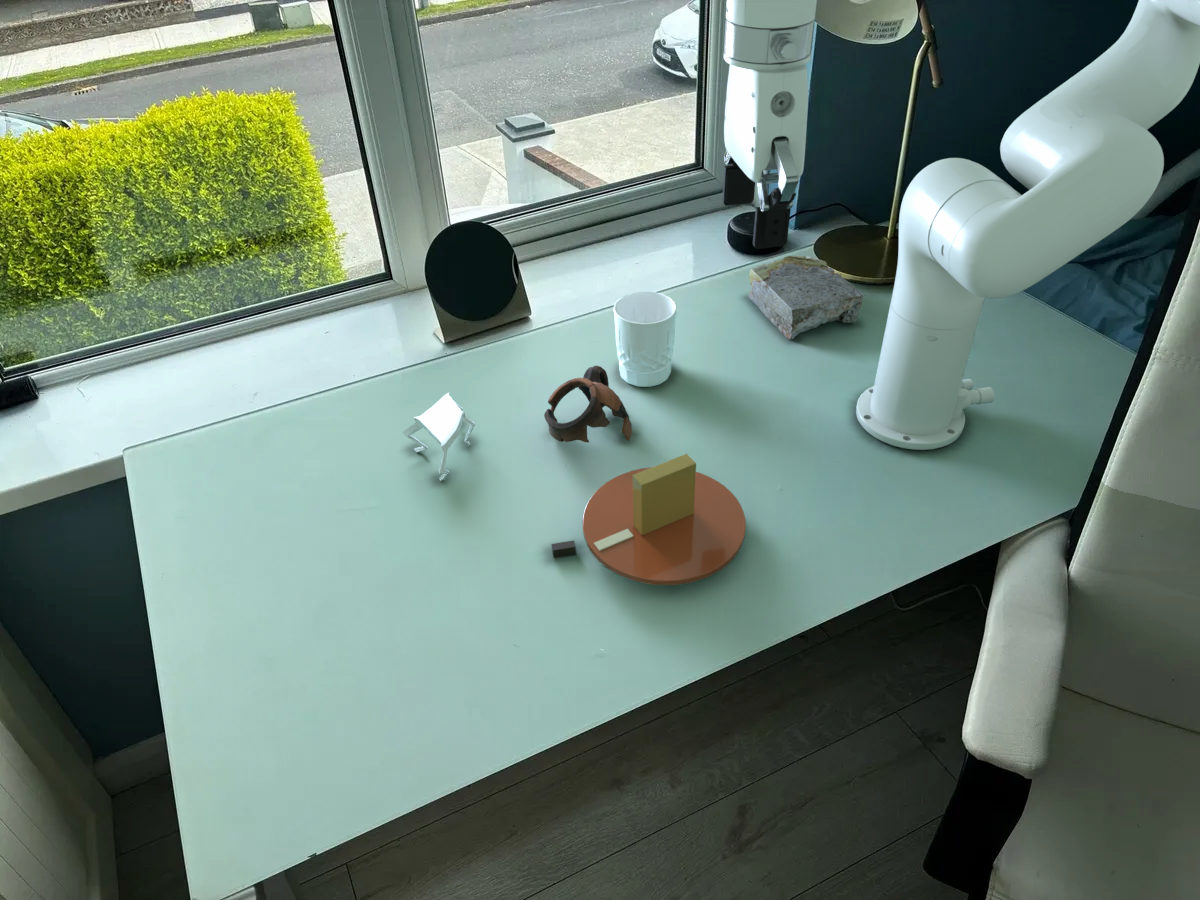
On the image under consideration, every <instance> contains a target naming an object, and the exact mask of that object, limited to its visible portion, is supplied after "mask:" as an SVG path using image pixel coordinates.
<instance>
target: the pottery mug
mask: <svg viewBox="0 0 1200 900" xmlns="http://www.w3.org/2000/svg"><path fill="white" fill-rule="evenodd" d="M577 388H578V390H580V391H581V392H582V393H583V394H584V396H585V397H586V399H587V400H588V402H589V403H588V404H587V407H586V408H585V409H584V410H583V412H581V414H580V415H579V416H578V417H576V418H575V419H573V420H571V421H568V422H563V423H562V422H558V419H557V418H556V416H555V411H556V408H557V406H558V405H559V404H560V402H561V400H562V399H563V398H564V397H565V396H566V395H568V394H569V393H570V392H572V391H574V390H575V389H577ZM547 403H548V404H549V405H550V406H551V407H550V408H547V409H546V411H545V412H544V415H543V416H544V419H545V421H546V423H547V425H548V432H549V434H550V435H551V437H552V438H553V439H555V441H556V440H557V441H558V442H560V443H562V442H563V443H564V442H565V443H571V442H574V441H575V442H576V441H580V442H582V443H587V444H588V443H590V441H589V439H588V427H590V428H606V427H608V426H609V425H610V424H611V421H610V420H609V418H608V417H607V415H606V412H605V410H604V409H603V408H604V407H607V408H608V409H610V410H611V414H612V416H613V417H614V418H615V417H616V418H620V419H622V420H623V422H622V427H621V429H620V431H621V433H622V434H623V435H624V438H625V440H626V441H627V442H629V441H631V438H632V436H633V435H632V433H633V427H632V423H631V420H630V415H629V413H628V411H627V409H626V406H625V405H624V403H623V401H622V400H621V398H620V397H619V395H618V394H617V393H616V392H615V391H614V389H612V388H610V385H609V377H608V374H607V371H606V370H605V369H604V368H603V367H602V366H600V365H593V366H589V367H588V368H587V369H586V370H585V372H584V373H583V377H576V378H571V379H569V380H567V381H565V382H563V383H562V384H560V385H559V386H558V387H557V388H556V389H554V391H553V392H552V394H551V395H550V396H549V398H548V401H547Z"/></svg>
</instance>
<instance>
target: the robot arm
mask: <svg viewBox="0 0 1200 900" xmlns="http://www.w3.org/2000/svg"><path fill="white" fill-rule="evenodd" d="M725 3H726V5H725V23H724V40H723V42H724V43H723V60H724V61H725V63H727V64H729V66H728V75H727V83H726V85H727V86H726V94H725V103H724V118H723V119H724V122H723V140H724V141H723V142H724V147H725V152H724V154H723V161H724V164H725V165H724V168H723V182H722V183H723V184H722V199H721V200H722V203H723V205H725V206H727V207H728V206H736V205H744V204H751V203H753V202H754V200H755V190H756V189H757V195H758V201H759V206H757V207H755V211H754V212H755V213H754V225H753V235H752V236H753V237H752V245H753V247H754V248H755V249H756V250H761V249H762V250H763V249H768V248H777V247H778V248H779V247H784V246H786V245H787V243H788V237H789V230H790V229H789V228H790V218H791V211H792V208H793V206H794V200H795V198H796V196H797V192H796V189H797V188H798V184H799V182H800V178H801V177H802V175H803V173H804V168H805V155H806V143H807V130H808V110H809V86H808V85H809V84H808V83H809V82H808V81H809V80H808V67H807V65H806V64H808V63H810V61H811V56H812V48H813V39H814V31H815V21H816V11H817V3H818V0H726V1H725ZM1199 67H1200V0H1138V2H1137V5H1136V7H1135V10H1134V12H1133V14H1132V17H1131V19H1130V21H1129V23H1128V25H1127V26H1126V28H1125V30H1124V32H1123V33H1122V34H1121V35H1120V37H1119V38H1118V39H1117V40H1116V42H1114V43H1113V44H1112V45H1111V46H1110V47H1108V48H1107V50H1106V51H1104V52H1103V53H1102V54H1100V55H1099V56H1098V57H1097V58H1096V59H1094V60H1093V61H1091V63H1089V64H1088V65H1087V66H1085V67H1084V68H1083V69H1080V71H1078V72H1077V73H1076V74H1074V75H1073V76H1071V77H1070V78H1069V79H1067V80H1066V81H1065V82H1063V83H1062V84H1060V85H1059V86H1057V87H1056V88H1055V89H1054V90H1052V91H1050V92H1049V93H1048V94H1046V95H1045V96H1044V97H1042V98H1041V99H1040V100H1038V101H1037V102H1036V103H1034V104H1033V105H1032V106H1030V107H1029V108H1028V109H1026V110H1025V111H1024V112H1022V113H1021V114H1020V115H1019V116H1018V117H1016V119H1014V120H1013V122H1012V123H1011V124H1010V125H1009V126H1008V128H1007V129H1006V131H1005V132H1004V134H1003V137H1002V139H1001V142H1000V146H999V151H1000V153H999V154H1000V159H1001V162H1002V163H1003V166H1004V167H1005V169H1006V171H1008V173H1009V175H1011V176H1012V177H1013V178H1014V179H1015V180H1016V181H1018V182H1019V183H1020V184H1021V185H1022V186H1023V187H1025V188H1026V189H1028V190H1027V191H1026V192H1025V193H1023V194H1021V193H1020V192H1018V191H1017V190H1016V189H1014V187H1012V186H1011V185H1010V184H1008V183H1007V182H1006V181H1005V180H1003V179H1002V178H1001V177H1000V176H998V175H997V174H995V173H994V172H992V171H991V170H990V169H988V168H987V167H985V166H984V165H982V164H981V163H978V162H976V161H972V160H970V159H966V158H962V157H948V158H943V159H939V160H936V161H934V162H932V163H930V164H928V165H927V166H925V167H924V168H922V169H921V170H920V171H919V172H918V173H917V174H916V175H915V176H914V177H913V179H912V180H911V182H910V183H909V184H908V186H907V187H906V189H905V192H904V194H903V197H902V201H901V204H900V209H899V217H898V249H897V250H898V251H897V252H898V254H897V255H898V256H897V265H896V272H895V279H894V284H893V289H892V294H891V300H890V304H889V309H888V313H887V319H886V324H885V329H884V334H883V339H882V344H881V348H880V353H879V358H878V364H877V368H876V374H875V378H874V379H875V380H874V383H873V385H872V386H870V387H869V388H866V389H865V390H864V391H863V392H862V393H861V394H860V396H859V397H858V399H857V403H856V408H855V415H856V419H857V421H858V423H859V424H860V426H861V427H862V428H863V429H864V430H865V431H866V432H867V433H868V434H869V435H870V436H872V437H874V438H875V439H877V440H879V441H881V442H883V443H886V444H887V445H890V446H893V447H898V448H900V449H907V450H912V451H913V450H915V451H926V450H936V449H939V448H943V447H946V446H948V445H950V444H952V443H954V442H955V441H956V440H958V438H959V437H960V436H961V435H962V433H963V431H964V428H965V423H966V414H965V412H964V410H967V409H969V408H970V407H971V406H972V405H985V404H991V403H993V402H994V401H995V398H996V397H995V396H996V395H995V391H994V389H993V388H992V387H991V386H986V387H978V388H975V389H974V381H973V379H971V378H965V379H964V376H965V371H966V368H967V365H968V361H969V357H970V354H971V350H972V346H973V342H974V339H975V336H976V331H977V328H978V325H979V321H980V317H981V314H982V312H983V308H984V303H985V299H987V300H998V299H1004V298H1009V297H1012V296H1014V295H1016V294H1018V293H1021V292H1023V291H1025V290H1027V289H1029V288H1030V287H1033V286H1034V285H1036V284H1037V283H1039V282H1040V281H1042V280H1043V279H1045V278H1046V277H1048V276H1050V275H1051V274H1052V273H1054V272H1056V271H1058V270H1059V269H1060V268H1062V267H1063V266H1064V265H1066V264H1068V263H1069V262H1071V261H1072V260H1074V259H1075V258H1077V257H1078V256H1080V255H1081V254H1082V253H1084V252H1085V251H1087V250H1088V249H1090V248H1091V247H1093V246H1094V245H1096V244H1098V243H1099V242H1100V241H1102V240H1103V239H1105V238H1106V237H1108V236H1109V235H1111V234H1113V233H1114V232H1115V231H1117V230H1118V229H1120V228H1121V227H1122V226H1124V225H1125V224H1126V223H1128V222H1129V221H1130V220H1131V219H1133V217H1135V216H1136V215H1137V213H1139V212H1140V211H1141V210H1142V209H1143V207H1144V206H1145V205H1146V204H1147V202H1148V201H1149V200H1150V198H1151V197H1152V196H1153V194H1154V193H1155V191H1156V189H1157V188H1158V186H1159V183H1160V182H1161V179H1162V177H1163V176H1162V175H1163V171H1164V166H1165V157H1164V152H1163V148H1162V146H1161V144H1160V143H1159V141H1158V140H1157V138H1156V137H1155V136H1154V135H1153V134H1152V133H1151V132H1150V131H1149V129H1150V128H1151V127H1153V126H1154V125H1155V124H1156V123H1158V122H1159V121H1160V120H1162V119H1163V118H1164V117H1166V116H1167V115H1168V114H1170V112H1172V111H1173V110H1174V109H1175V108H1176V107H1177V106H1178V105H1179V104H1180V103H1181V102H1182V101H1183V99H1184V98H1185V97H1186V96H1187V94H1188V92H1189V91H1190V89H1191V87H1192V86H1193V83H1194V80H1195V78H1196V76H1197V73H1198V70H1199ZM773 170H776V172H772V173H764V172H765V171H773ZM768 184H777V185H778V186H777V187H775V188H773V189H772V191H771V192H770V193H769V190H768Z"/></svg>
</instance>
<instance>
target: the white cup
mask: <svg viewBox="0 0 1200 900" xmlns="http://www.w3.org/2000/svg"><path fill="white" fill-rule="evenodd" d="M677 308H678V306H677V303H676V301H674V300H673V299H672V298H671V297H670V296H669V295H666V294H663V293H660V292H655V291H647V290H646V291H635V292H631V293H627V294H625V295H623V296H621V297H619V298H618V299H616V301H615V302H614V304H613V318H614V319H613V320H614V332H615V344H616V354H617V355H616V356H617V359H618V368H619V369H618V370H619V375H620V378H621V379H622V380H623V381H625V383H627V384H629V385H632V386H635V387H642V388H643V387H644V388H651V387H655V386H659V385H661V384H662V383H664V382H666V381H668V379H669V378H670V375H671V373H672V361H673V360H672V359H673V355H674V345H675V335H676V323H677V322H676V321H677Z"/></svg>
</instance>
